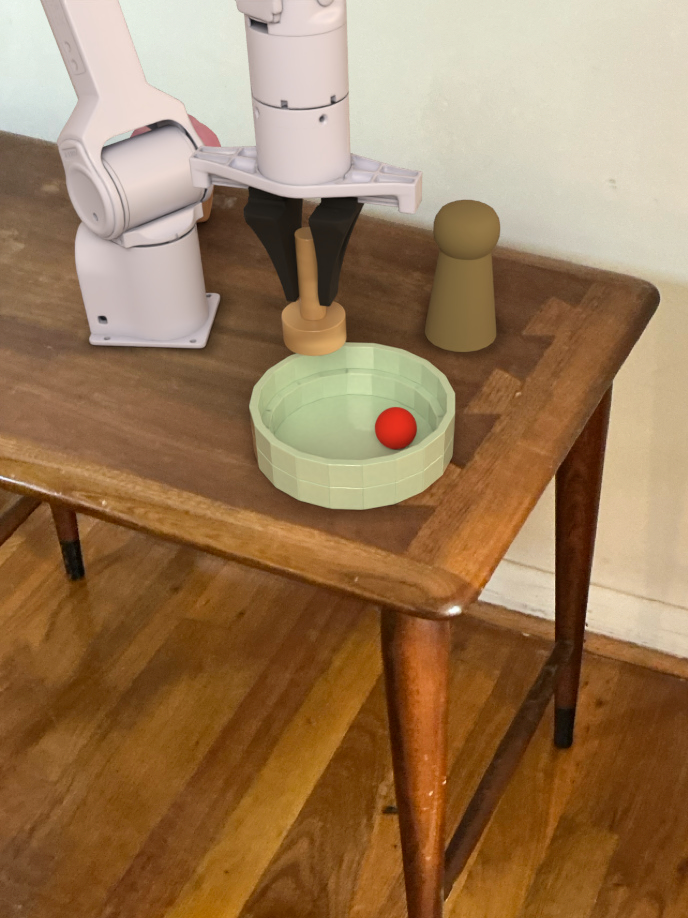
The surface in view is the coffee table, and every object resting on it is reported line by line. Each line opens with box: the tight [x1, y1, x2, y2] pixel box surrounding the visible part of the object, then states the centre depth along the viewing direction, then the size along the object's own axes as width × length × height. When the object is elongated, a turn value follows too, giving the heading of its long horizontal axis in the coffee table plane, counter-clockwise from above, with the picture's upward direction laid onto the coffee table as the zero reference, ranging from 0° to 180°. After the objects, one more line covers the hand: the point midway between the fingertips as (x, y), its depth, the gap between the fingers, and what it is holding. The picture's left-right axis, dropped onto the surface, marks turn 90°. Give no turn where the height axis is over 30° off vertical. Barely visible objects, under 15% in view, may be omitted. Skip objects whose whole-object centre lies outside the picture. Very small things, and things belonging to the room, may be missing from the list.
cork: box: [424, 199, 501, 353], centre depth 82 cm, size 6×6×11 cm
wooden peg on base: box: [281, 226, 347, 356], centre depth 69 cm, size 4×4×8 cm
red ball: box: [375, 407, 417, 449], centre depth 73 cm, size 3×3×3 cm
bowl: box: [248, 341, 456, 511], centre depth 73 cm, size 14×14×4 cm
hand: (312, 296), depth 70 cm, fingers closed on wooden peg on base, 2 cm apart
